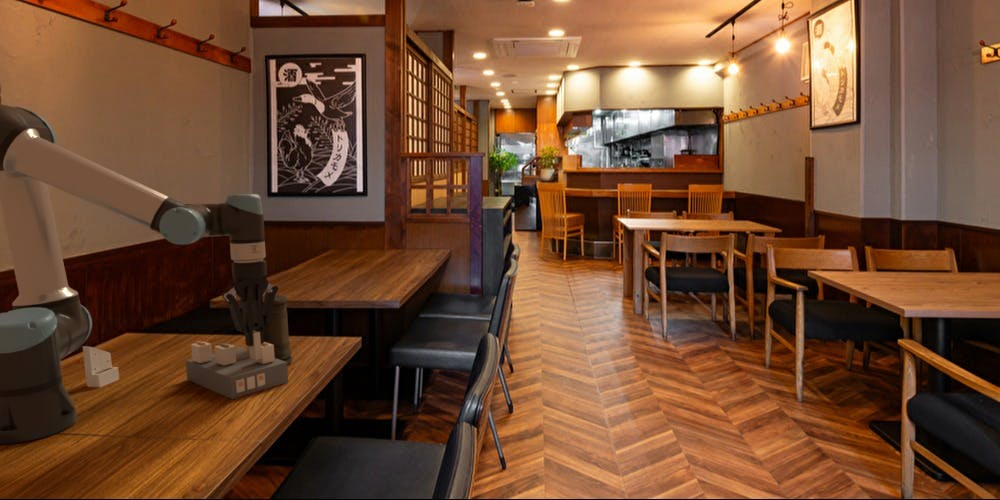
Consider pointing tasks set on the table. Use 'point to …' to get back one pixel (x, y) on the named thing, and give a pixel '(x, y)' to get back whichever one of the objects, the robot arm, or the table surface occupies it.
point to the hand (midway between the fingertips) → (255, 358)
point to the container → (279, 330)
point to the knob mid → (225, 354)
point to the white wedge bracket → (99, 367)
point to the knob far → (201, 352)
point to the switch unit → (237, 374)
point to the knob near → (266, 353)
